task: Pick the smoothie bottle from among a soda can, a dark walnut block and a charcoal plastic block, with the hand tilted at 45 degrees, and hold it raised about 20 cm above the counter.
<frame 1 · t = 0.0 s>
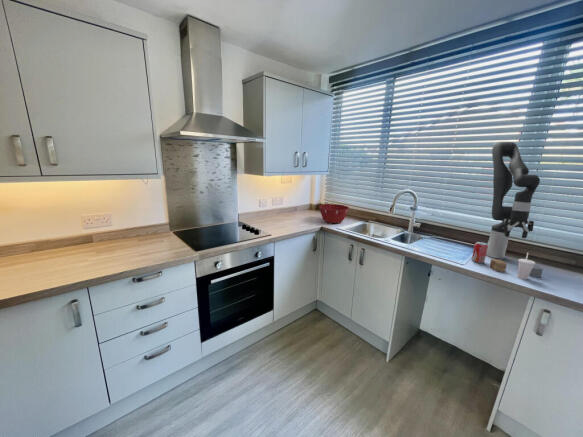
hand: (515, 237, 141), 17 cm above the countertop, tool pointing down, fingers open, 8 cm apart
walnut block: (496, 269, 138), on the countertop
charcoal block: (531, 274, 132), on the countertop
mixing bowl: (332, 222, 235), on the countertop
soda can: (477, 261, 148), on the countertop
smoothie: (522, 278, 128), on the countertop
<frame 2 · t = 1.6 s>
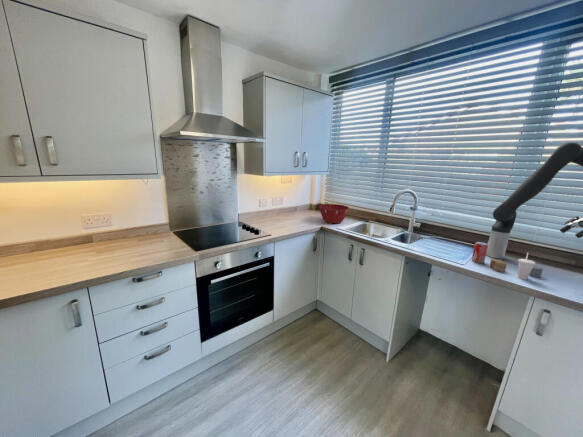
hand: (568, 234, 119), 26 cm above the countertop, tool tilted 45°, fingers open, 8 cm apart
nothing on the countertop moved.
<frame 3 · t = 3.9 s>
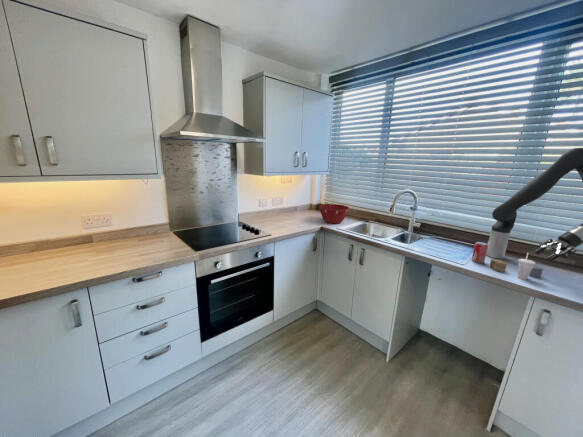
hand: (542, 256, 124), 13 cm above the countertop, tool tilted 45°, fingers open, 8 cm apart
nothing on the countertop moved.
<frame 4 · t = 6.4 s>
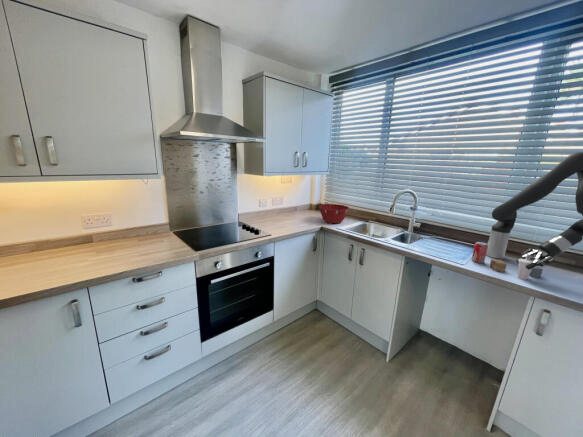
hand: (522, 265, 126), 7 cm above the countertop, tool tilted 45°, fingers closed on smoothie, 6 cm apart
smoothie: (522, 278, 128), on the countertop, touching gripper
everything else where it was.
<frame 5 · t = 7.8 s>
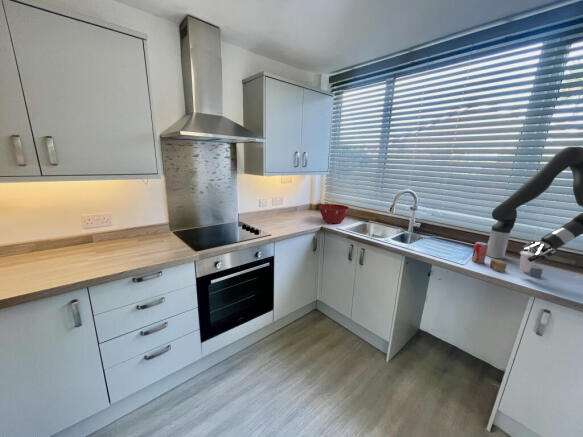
hand: (524, 257, 126), 11 cm above the countertop, tool tilted 45°, fingers closed on smoothie, 6 cm apart
smoothie: (524, 270, 127), point 4 cm above the countertop, touching gripper
everything else where it was.
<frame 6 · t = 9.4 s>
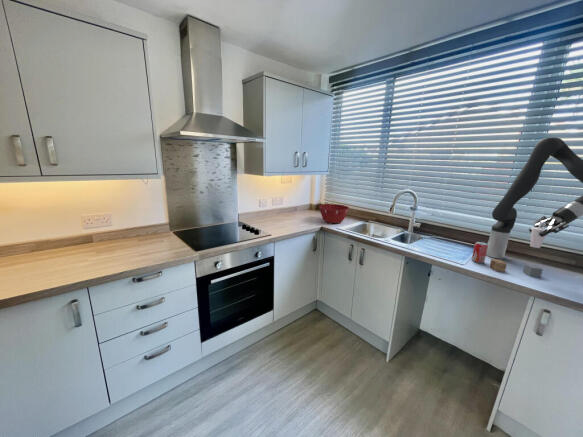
hand: (535, 233, 123), 24 cm above the countertop, tool tilted 45°, fingers closed on smoothie, 6 cm apart
smoothie: (535, 247, 125), point 17 cm above the countertop, touching gripper
everything else where it was.
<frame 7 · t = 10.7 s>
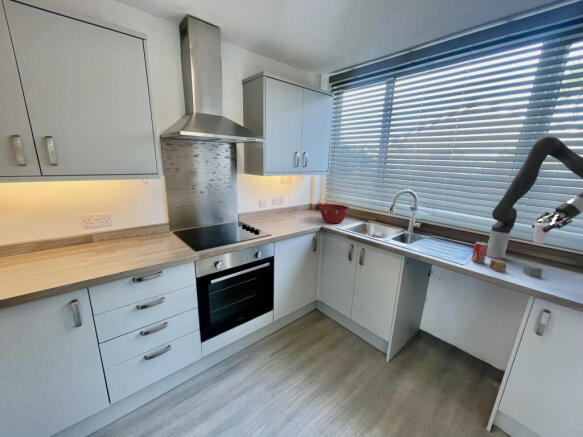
hand: (538, 229, 123), 27 cm above the countertop, tool tilted 45°, fingers closed on smoothie, 6 cm apart
smoothie: (538, 242, 124), point 19 cm above the countertop, touching gripper
everything else where it was.
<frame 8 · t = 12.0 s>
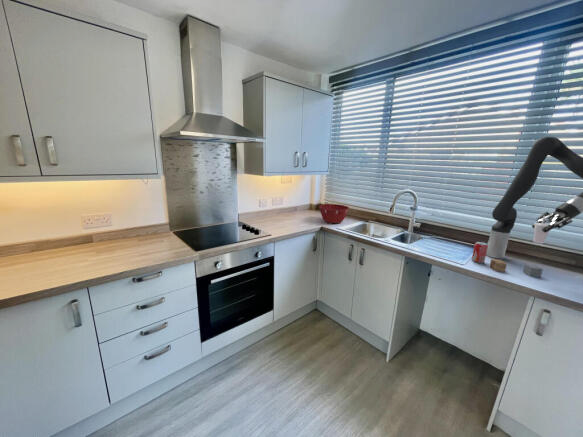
hand: (538, 229, 123), 27 cm above the countertop, tool tilted 45°, fingers closed on smoothie, 6 cm apart
smoothie: (538, 242, 124), point 19 cm above the countertop, touching gripper
everything else where it was.
at the end: the gripper is holding smoothie; smoothie point 19.4 cm above the countertop; walnut block moved 0.1 cm from its start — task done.
